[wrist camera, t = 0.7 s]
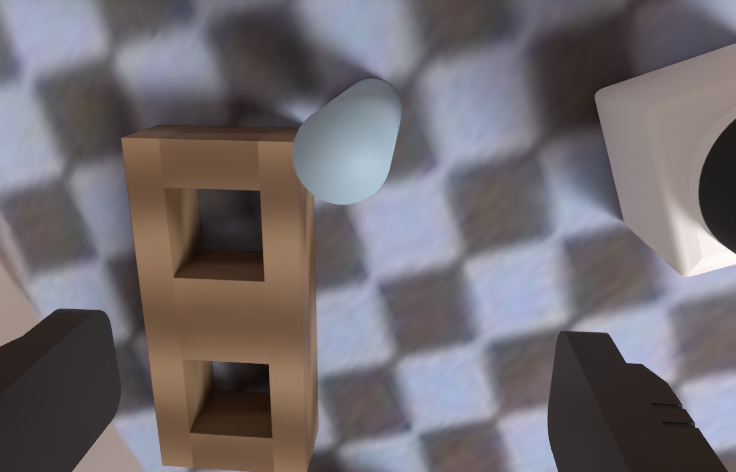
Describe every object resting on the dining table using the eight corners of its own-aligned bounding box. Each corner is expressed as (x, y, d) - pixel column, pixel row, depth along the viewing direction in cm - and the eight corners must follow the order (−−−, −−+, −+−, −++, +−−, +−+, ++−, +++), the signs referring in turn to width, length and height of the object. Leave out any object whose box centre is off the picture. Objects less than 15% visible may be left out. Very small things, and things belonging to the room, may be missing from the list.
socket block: (158, 124, 30) (121, 137, 26) (312, 128, 29) (296, 142, 26) (189, 420, 36) (162, 465, 32) (318, 428, 35) (306, 475, 32)
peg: (341, 77, 29) (290, 105, 17) (403, 78, 28) (392, 107, 17) (342, 139, 30) (293, 202, 18) (401, 140, 29) (390, 206, 18)
